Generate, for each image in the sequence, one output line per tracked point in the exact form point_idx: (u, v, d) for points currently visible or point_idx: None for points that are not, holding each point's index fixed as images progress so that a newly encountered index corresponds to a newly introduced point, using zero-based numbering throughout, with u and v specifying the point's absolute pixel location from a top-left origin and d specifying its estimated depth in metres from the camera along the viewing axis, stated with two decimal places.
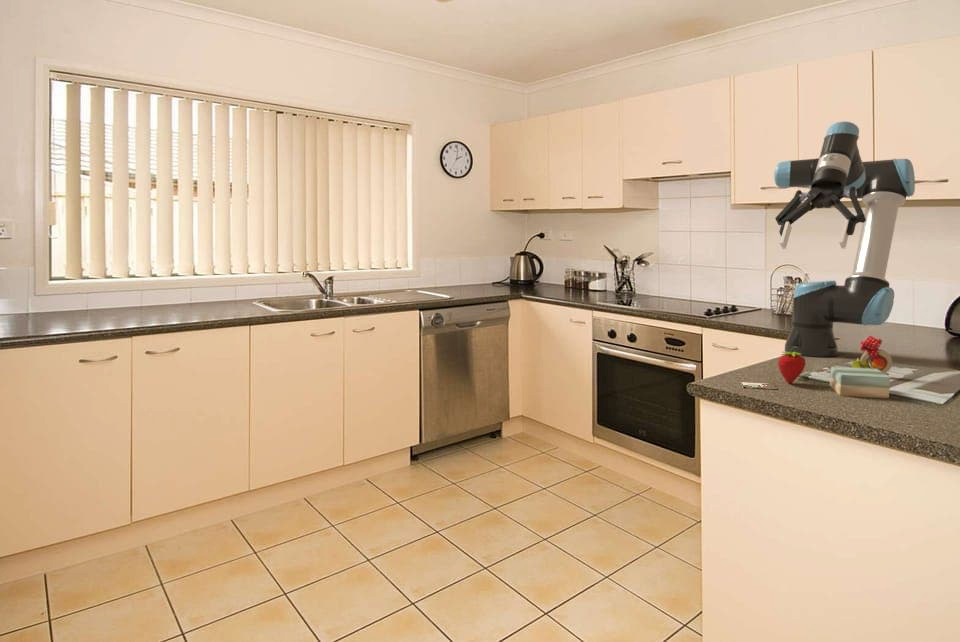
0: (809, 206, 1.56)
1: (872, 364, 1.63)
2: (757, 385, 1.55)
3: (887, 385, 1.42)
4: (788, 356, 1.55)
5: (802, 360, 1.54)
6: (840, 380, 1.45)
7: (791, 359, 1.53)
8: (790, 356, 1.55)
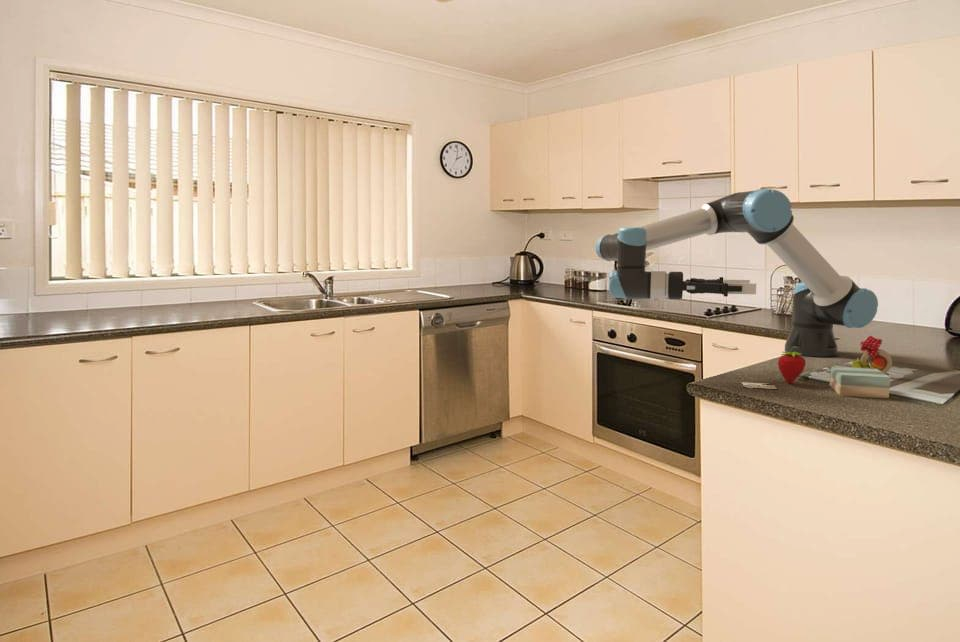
0: None
1: (872, 364, 1.63)
2: (757, 385, 1.55)
3: (887, 385, 1.42)
4: (788, 356, 1.55)
5: (802, 360, 1.54)
6: (840, 380, 1.45)
7: (791, 359, 1.53)
8: (790, 356, 1.55)
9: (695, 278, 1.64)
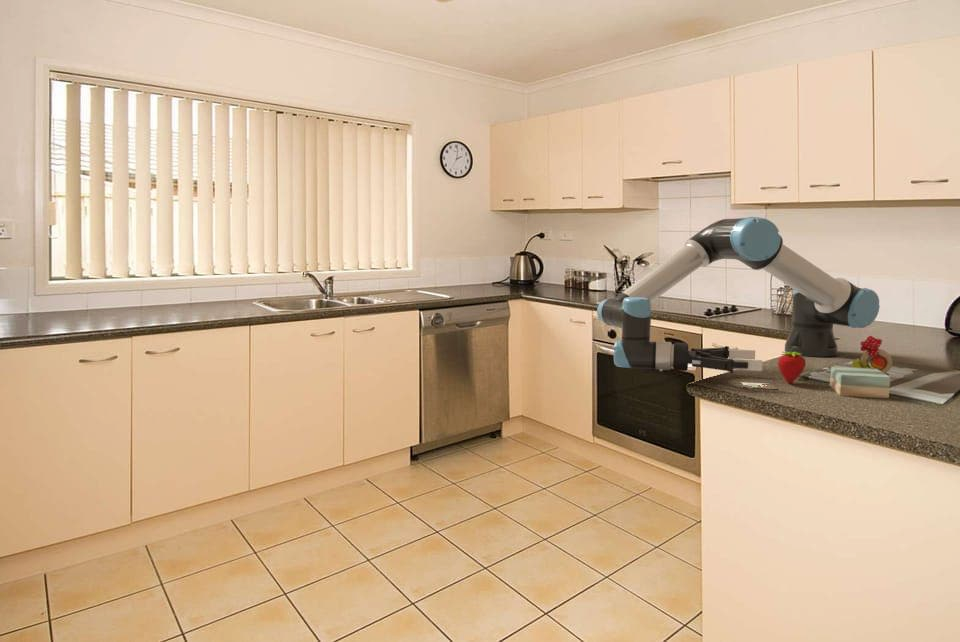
0: None
1: (872, 364, 1.63)
2: (757, 385, 1.55)
3: (887, 385, 1.42)
4: (788, 356, 1.55)
5: (802, 360, 1.54)
6: (840, 380, 1.45)
7: (791, 359, 1.53)
8: (790, 356, 1.55)
9: (700, 349, 1.63)
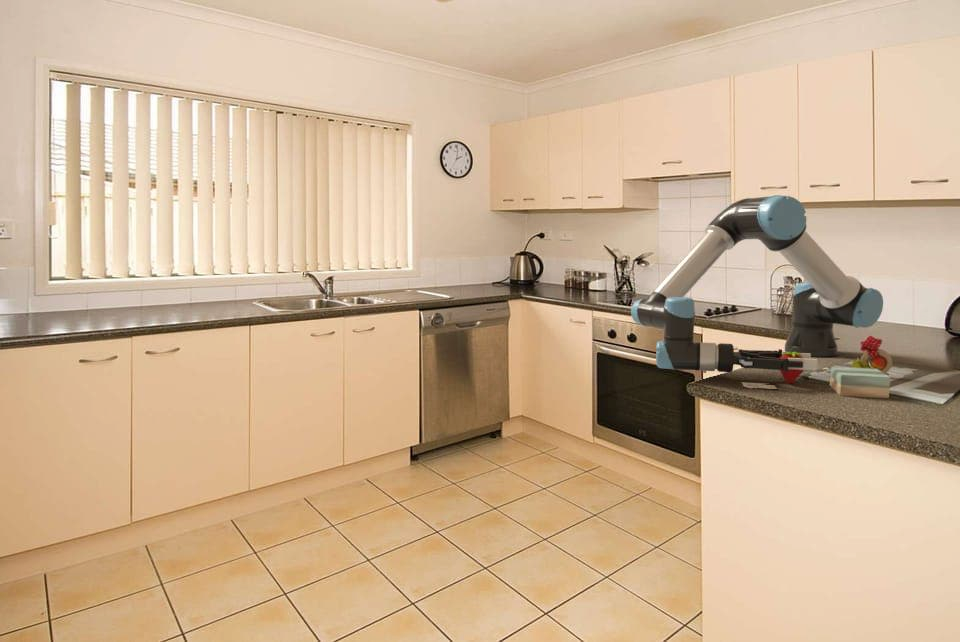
0: None
1: (872, 364, 1.63)
2: (757, 385, 1.55)
3: (887, 385, 1.42)
4: (788, 356, 1.55)
5: None
6: (840, 380, 1.45)
7: None
8: (790, 356, 1.55)
9: (745, 350, 1.60)
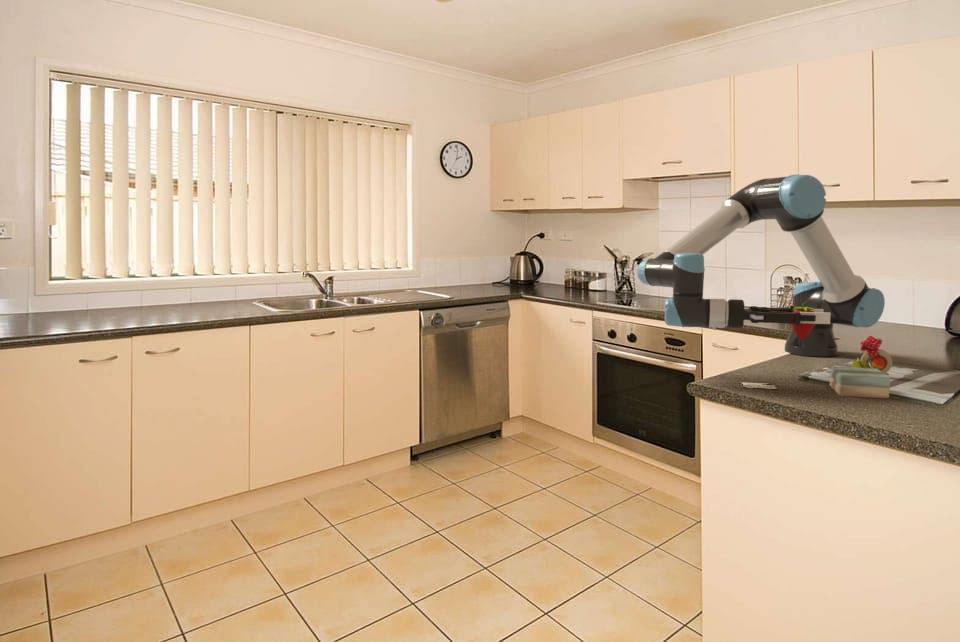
0: None
1: (872, 364, 1.63)
2: (757, 385, 1.55)
3: (887, 385, 1.42)
4: (800, 311, 1.52)
5: None
6: (840, 380, 1.45)
7: None
8: (802, 311, 1.51)
9: (756, 306, 1.57)
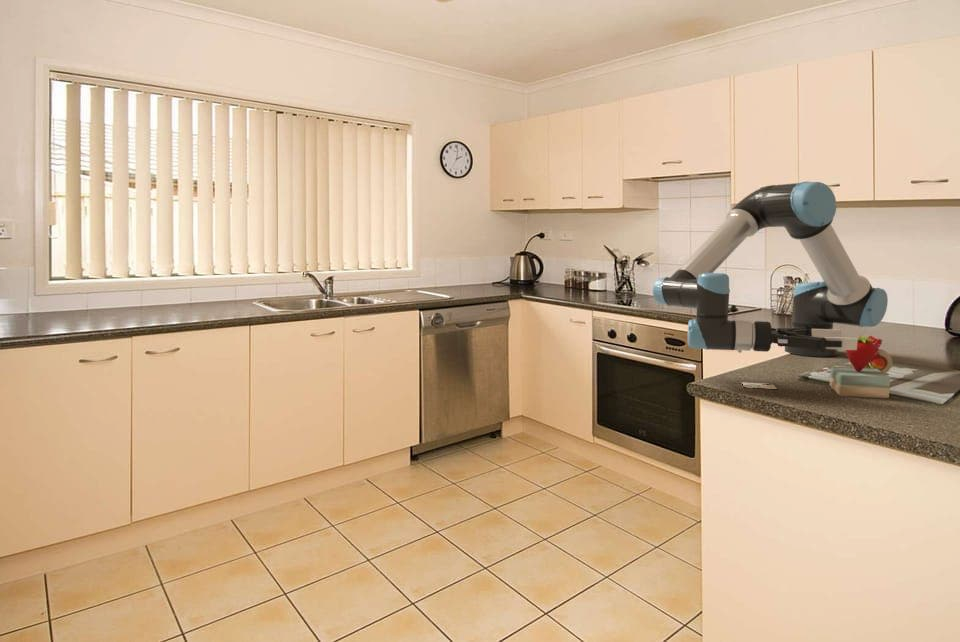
0: None
1: (872, 364, 1.63)
2: (757, 385, 1.55)
3: (887, 385, 1.42)
4: (858, 342, 1.45)
5: (873, 346, 1.44)
6: (840, 380, 1.45)
7: (861, 346, 1.44)
8: (860, 342, 1.45)
9: (783, 328, 1.52)
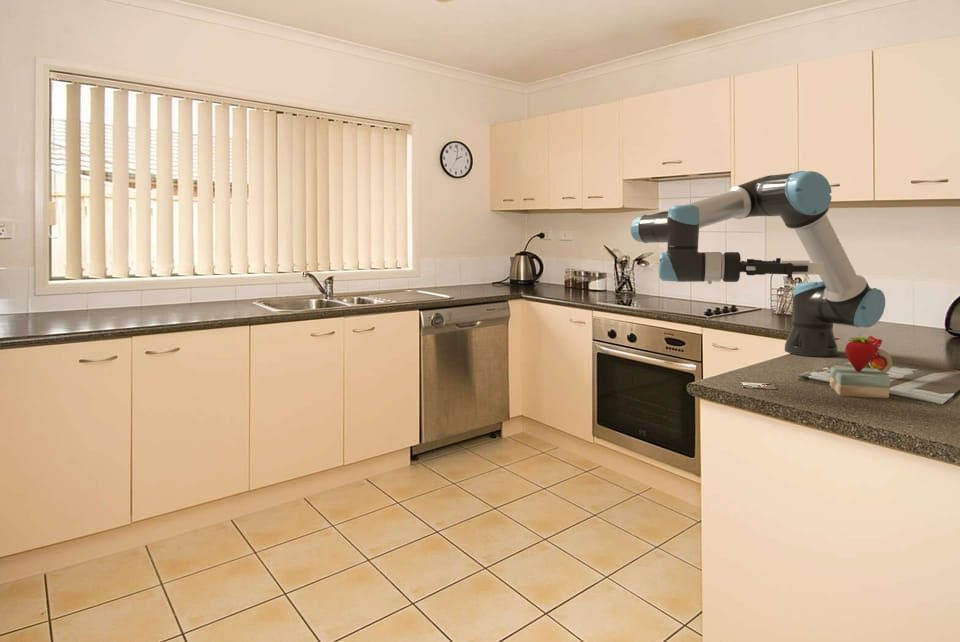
0: None
1: (872, 364, 1.63)
2: (757, 385, 1.55)
3: (887, 385, 1.42)
4: (857, 342, 1.46)
5: (872, 346, 1.45)
6: (840, 380, 1.45)
7: (860, 345, 1.44)
8: (859, 342, 1.45)
9: None
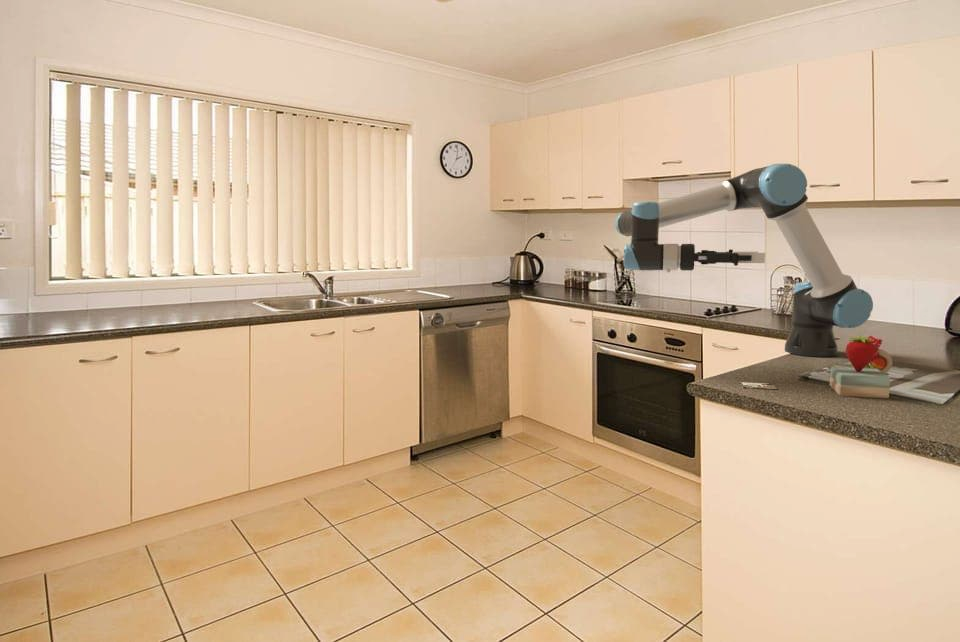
0: None
1: (872, 364, 1.63)
2: (757, 385, 1.55)
3: (887, 385, 1.42)
4: (857, 342, 1.45)
5: (873, 346, 1.45)
6: (840, 380, 1.45)
7: (861, 345, 1.44)
8: (860, 342, 1.45)
9: None
